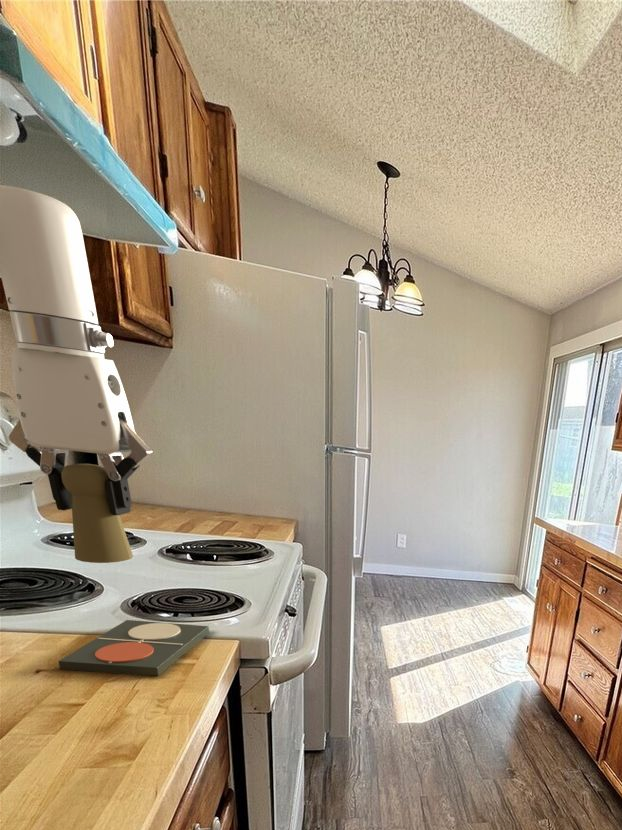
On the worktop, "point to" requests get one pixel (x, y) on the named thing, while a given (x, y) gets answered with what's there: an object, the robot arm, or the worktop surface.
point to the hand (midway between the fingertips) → (94, 509)
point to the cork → (94, 516)
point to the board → (136, 648)
